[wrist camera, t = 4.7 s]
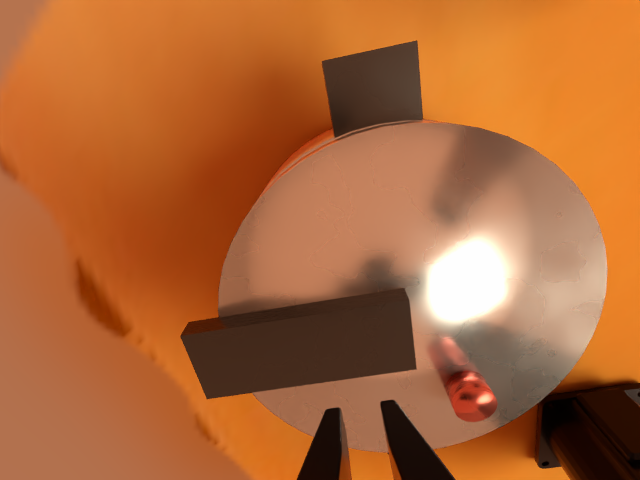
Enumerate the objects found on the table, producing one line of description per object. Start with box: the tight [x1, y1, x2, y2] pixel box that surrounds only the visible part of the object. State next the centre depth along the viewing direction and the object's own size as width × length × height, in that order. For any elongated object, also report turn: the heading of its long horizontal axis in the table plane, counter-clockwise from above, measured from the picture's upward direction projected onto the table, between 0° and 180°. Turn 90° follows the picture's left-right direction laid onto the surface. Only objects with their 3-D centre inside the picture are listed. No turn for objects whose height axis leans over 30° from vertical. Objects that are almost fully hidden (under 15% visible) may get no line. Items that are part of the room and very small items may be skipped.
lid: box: [181, 121, 607, 452], centre depth 12 cm, size 14×15×2 cm
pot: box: [251, 41, 452, 454], centre depth 16 cm, size 18×14×5 cm
